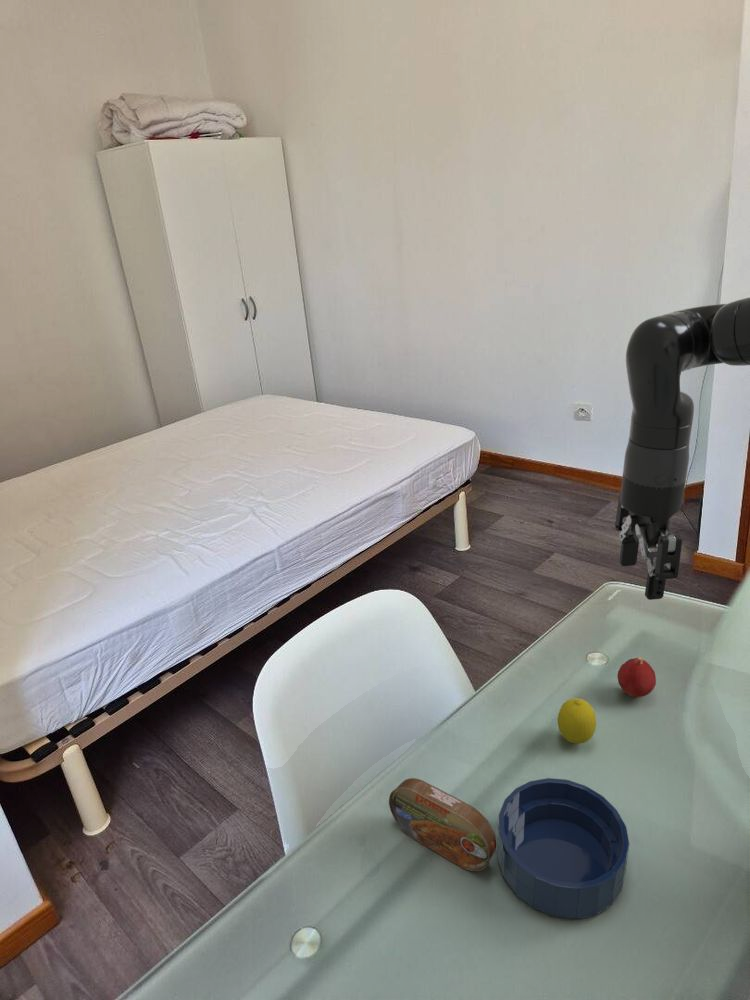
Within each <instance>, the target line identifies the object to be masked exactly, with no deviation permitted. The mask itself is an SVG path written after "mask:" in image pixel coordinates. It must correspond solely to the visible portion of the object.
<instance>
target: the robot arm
mask: <svg viewBox="0 0 750 1000" xmlns="http://www.w3.org/2000/svg"><path fill="white" fill-rule="evenodd" d="M719 364H725V365H728V366H732V367H733V366H735V367H743V366H750V297H745V298H740V299H737V300H734V301H730V302H729V303H719V304H708V305H702V306H695V307H689V308H684V309H679V310H675V311H672V312H668V313H664V314H662V315H657V316H653V317H650V318H648V319H645V320H643V321H642V322H640V323H639V324H638V325H636V327H635V329H634V330H633V331H632V333H631V335H630V337H629V340H628V342H627V345H626V350H625V368H626V375H627V382H628V389H629V395H630V400H631V404H632V410H631V416H630V417H631V418H630V427H629V436H628V440H627V445H626V449H625V452H624V461H623V470H622V478H621V487H620V493H619V494H618V502H617V509H616V516H615V522H614V529H615V531H616V532H619V540H620V541H621V543H620V544H621V546H620V554H619V560H618V561H619V564H620V565H621V566H622V567H630V566H632V567H633V566H635V565H637V562H638V555H639V554H638V553H639V548H640V555H641V558H642V559H643V560H645V562H646V567H647V576H646V583H645V589H644V596H645V597H646V599H647V600H649V601H652V600H653V601H654V600H661V599H663V597H664V595H665V588H666V582H667V580H671V579H678V578H679V570H680V562H681V555H682V554H681V553H682V546H683V537H682V535H681V534H672V533H671V531H670V530H671V529H670V519H671V518H672V517H674V515H676V514H678V513H679V512H680V511H681V510H682V507H683V503H684V502H683V501H684V496H685V489H686V481H687V477H688V476H687V475H688V470H689V468H688V467H689V463H690V443H691V434H692V430H693V429H692V428H693V424H694V423H693V422H694V413H695V404H694V400H693V399H692V397H691V396H690V395H689V394H688V393H685V392H684V391H681V376H682V373H683V372H686V371H690V370H692V369H695V368H696V369H697V368H700V367H704V366H712V365H719ZM624 518H625V521H623V520H624ZM653 548H656V550H657V551H656V550H655V551H651V550H650V549H653Z"/></svg>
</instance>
